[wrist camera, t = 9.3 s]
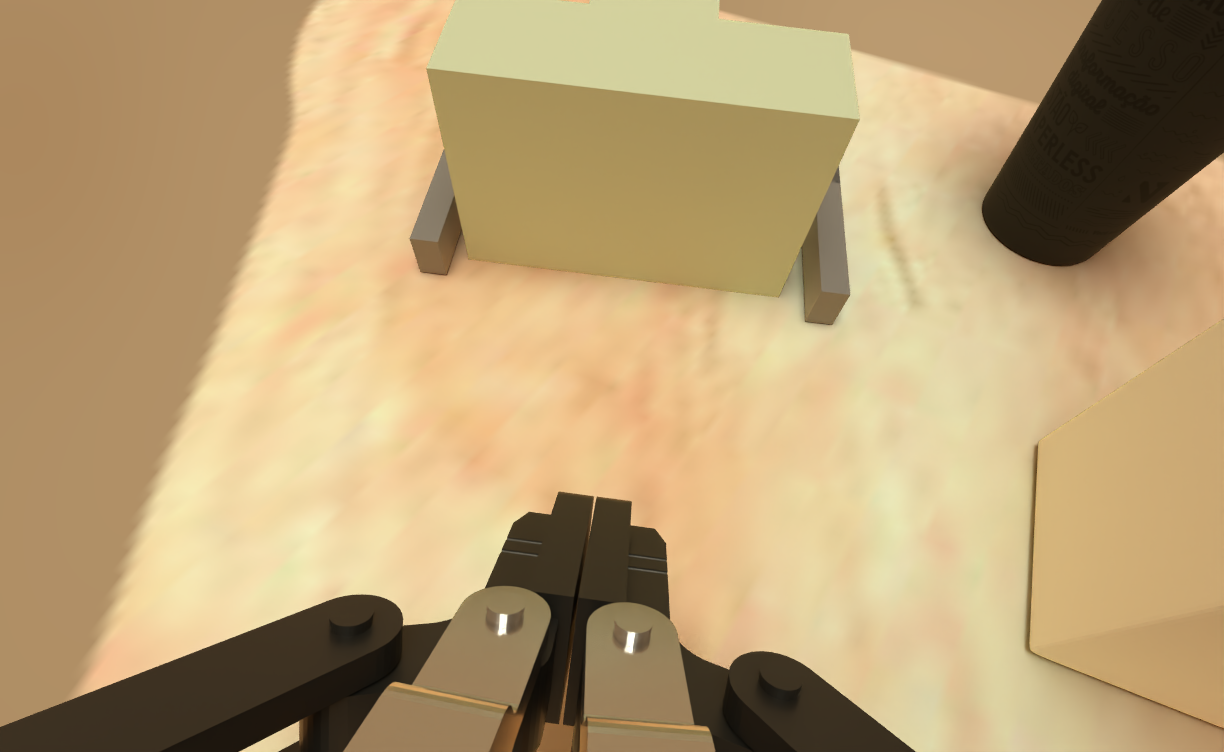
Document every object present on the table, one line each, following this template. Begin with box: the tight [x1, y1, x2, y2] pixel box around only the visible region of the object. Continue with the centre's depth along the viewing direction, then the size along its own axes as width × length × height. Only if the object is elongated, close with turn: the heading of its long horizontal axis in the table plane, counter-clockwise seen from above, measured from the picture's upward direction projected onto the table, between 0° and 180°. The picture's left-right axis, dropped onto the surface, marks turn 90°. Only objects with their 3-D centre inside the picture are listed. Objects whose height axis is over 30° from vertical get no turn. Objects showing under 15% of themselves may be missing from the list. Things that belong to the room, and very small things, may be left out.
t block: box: [426, 0, 860, 297], centre depth 23 cm, size 12×10×8 cm
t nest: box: [410, 150, 850, 325], centre depth 26 cm, size 16×13×2 cm
